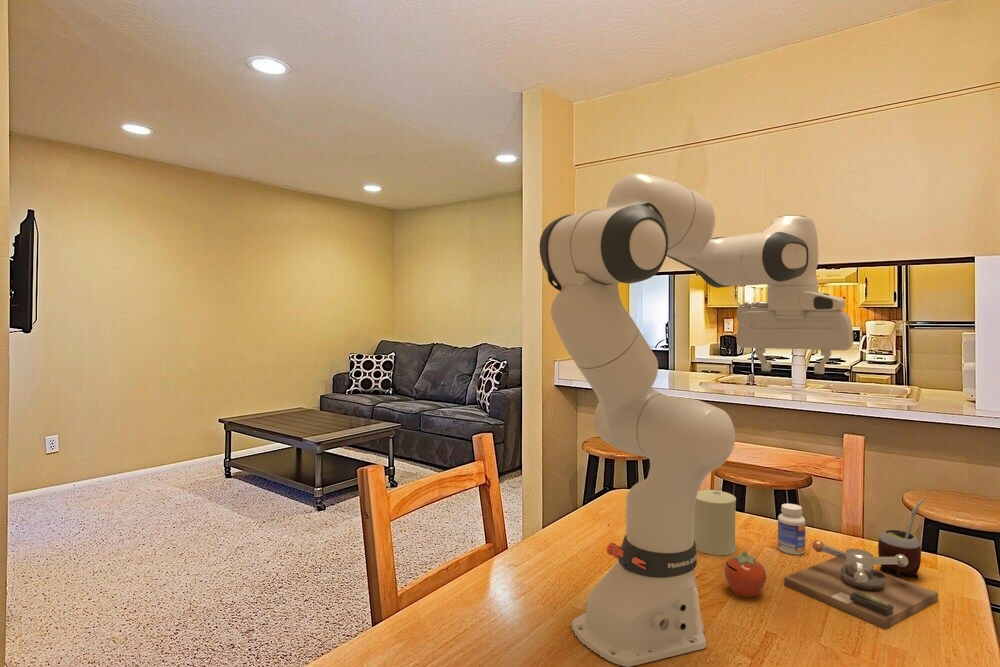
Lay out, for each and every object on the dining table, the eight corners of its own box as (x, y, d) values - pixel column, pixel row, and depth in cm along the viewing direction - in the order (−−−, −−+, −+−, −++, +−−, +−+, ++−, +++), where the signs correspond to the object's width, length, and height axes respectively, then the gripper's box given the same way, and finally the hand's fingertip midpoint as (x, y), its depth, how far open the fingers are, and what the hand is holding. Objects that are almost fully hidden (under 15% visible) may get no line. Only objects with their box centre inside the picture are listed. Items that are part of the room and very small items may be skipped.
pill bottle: (802, 557, 124) (803, 512, 123) (775, 551, 127) (775, 507, 126) (807, 548, 128) (807, 505, 128) (780, 543, 131) (781, 500, 131)
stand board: (884, 629, 96) (885, 608, 96) (783, 585, 112) (784, 567, 111) (937, 600, 105) (938, 581, 105) (837, 563, 121) (838, 546, 121)
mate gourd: (876, 575, 115) (877, 501, 114) (879, 561, 121) (880, 490, 121) (922, 586, 111) (924, 508, 110) (923, 571, 117) (925, 497, 116)
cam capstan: (863, 606, 100) (864, 574, 100) (788, 574, 112) (788, 546, 112) (910, 583, 108) (910, 553, 108) (835, 556, 120) (835, 529, 120)
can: (739, 544, 131) (740, 491, 130) (731, 559, 123) (731, 503, 123) (697, 535, 136) (697, 485, 135) (687, 550, 128) (687, 496, 128)
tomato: (716, 584, 112) (716, 543, 112) (753, 582, 113) (753, 542, 113) (735, 603, 105) (735, 560, 104) (774, 601, 106) (775, 558, 105)
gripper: (731, 302, 117) (732, 371, 117) (849, 300, 104) (849, 377, 104) (741, 301, 121) (741, 367, 122) (855, 299, 109) (854, 373, 109)
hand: (792, 372), depth 113 cm, fingers open, 8 cm apart
